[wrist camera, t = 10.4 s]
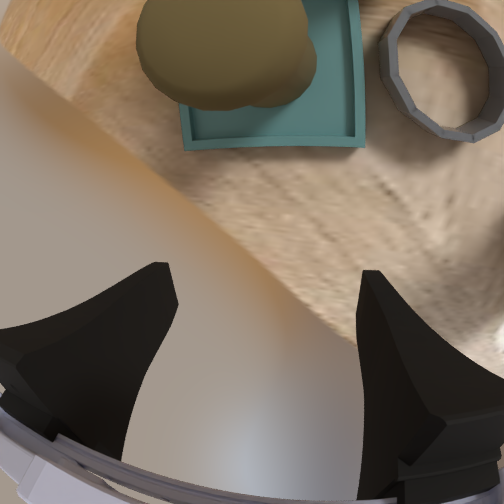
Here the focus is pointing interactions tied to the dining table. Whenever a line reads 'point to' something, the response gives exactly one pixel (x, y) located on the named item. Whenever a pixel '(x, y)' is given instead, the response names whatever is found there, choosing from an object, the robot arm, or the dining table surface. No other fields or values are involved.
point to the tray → (309, 103)
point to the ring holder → (494, 52)
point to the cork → (226, 51)
